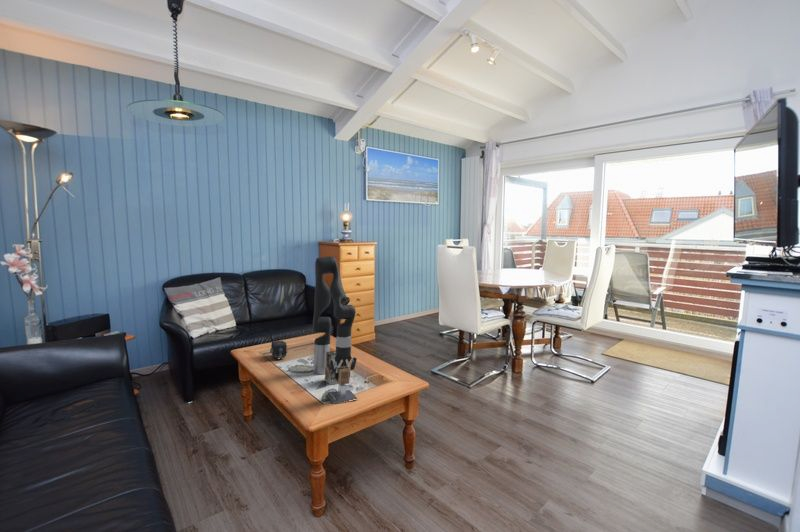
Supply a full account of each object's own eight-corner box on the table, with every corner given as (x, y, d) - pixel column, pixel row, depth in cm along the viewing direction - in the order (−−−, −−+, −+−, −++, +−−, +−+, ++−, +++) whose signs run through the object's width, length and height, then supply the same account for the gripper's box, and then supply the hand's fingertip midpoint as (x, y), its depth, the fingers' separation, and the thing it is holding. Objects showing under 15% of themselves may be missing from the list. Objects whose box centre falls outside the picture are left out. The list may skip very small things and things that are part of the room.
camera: (288, 361, 241) (283, 353, 254) (289, 344, 240) (284, 337, 253) (272, 363, 236) (267, 355, 249) (273, 346, 235) (268, 338, 247)
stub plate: (326, 395, 183) (327, 381, 183) (349, 391, 189) (349, 379, 189) (333, 404, 173) (333, 390, 172) (357, 400, 178) (357, 387, 178)
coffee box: (341, 383, 201) (342, 354, 200) (329, 385, 198) (330, 355, 197) (335, 378, 209) (336, 350, 208) (324, 379, 206) (325, 351, 205)
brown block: (335, 380, 182) (336, 363, 182) (344, 378, 185) (345, 362, 184) (339, 384, 176) (340, 367, 176) (349, 383, 178) (350, 366, 178)
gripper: (354, 342, 187) (353, 375, 187) (327, 344, 180) (326, 378, 181) (359, 345, 180) (358, 379, 180) (331, 347, 174) (330, 383, 174)
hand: (342, 378), depth 180 cm, fingers closed on brown block, 5 cm apart
